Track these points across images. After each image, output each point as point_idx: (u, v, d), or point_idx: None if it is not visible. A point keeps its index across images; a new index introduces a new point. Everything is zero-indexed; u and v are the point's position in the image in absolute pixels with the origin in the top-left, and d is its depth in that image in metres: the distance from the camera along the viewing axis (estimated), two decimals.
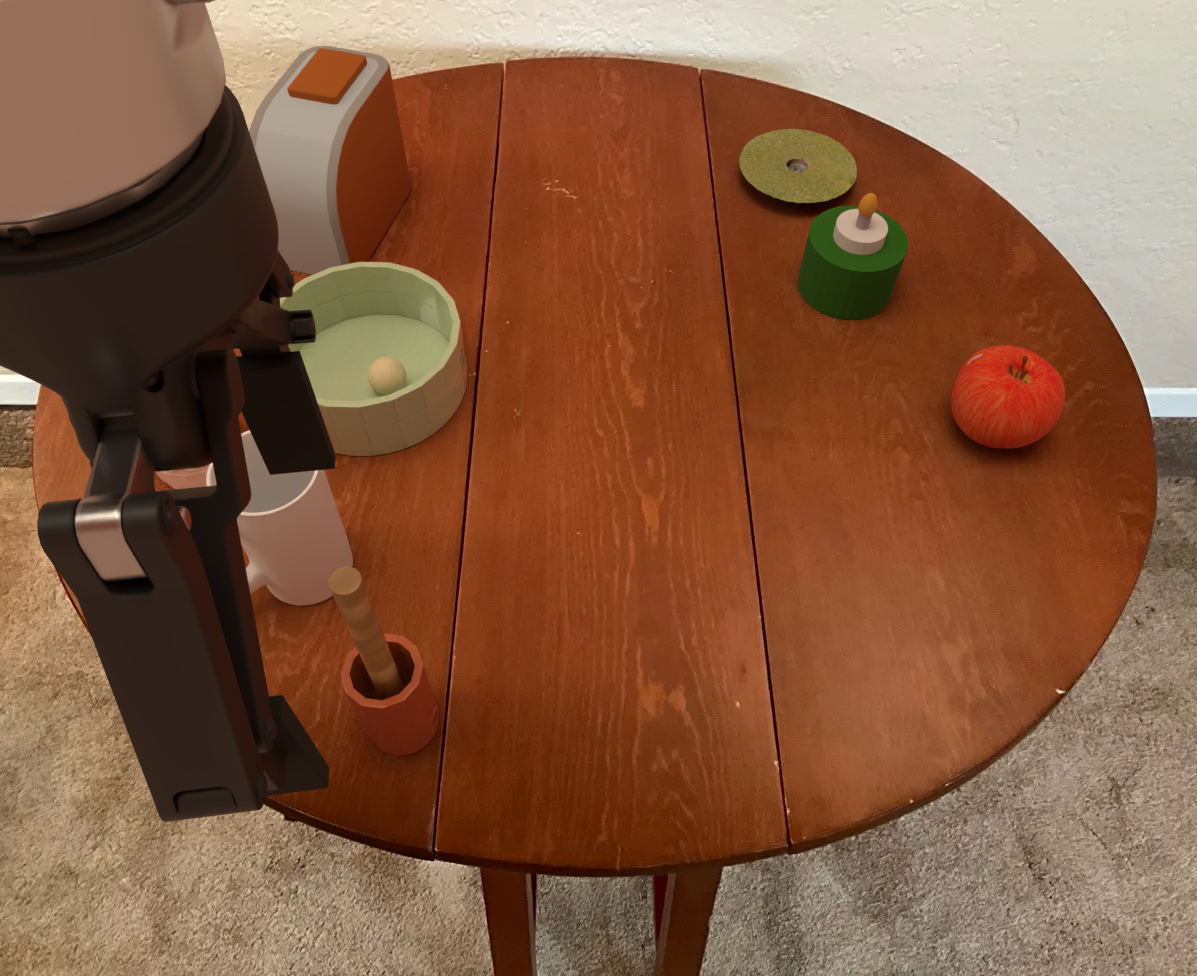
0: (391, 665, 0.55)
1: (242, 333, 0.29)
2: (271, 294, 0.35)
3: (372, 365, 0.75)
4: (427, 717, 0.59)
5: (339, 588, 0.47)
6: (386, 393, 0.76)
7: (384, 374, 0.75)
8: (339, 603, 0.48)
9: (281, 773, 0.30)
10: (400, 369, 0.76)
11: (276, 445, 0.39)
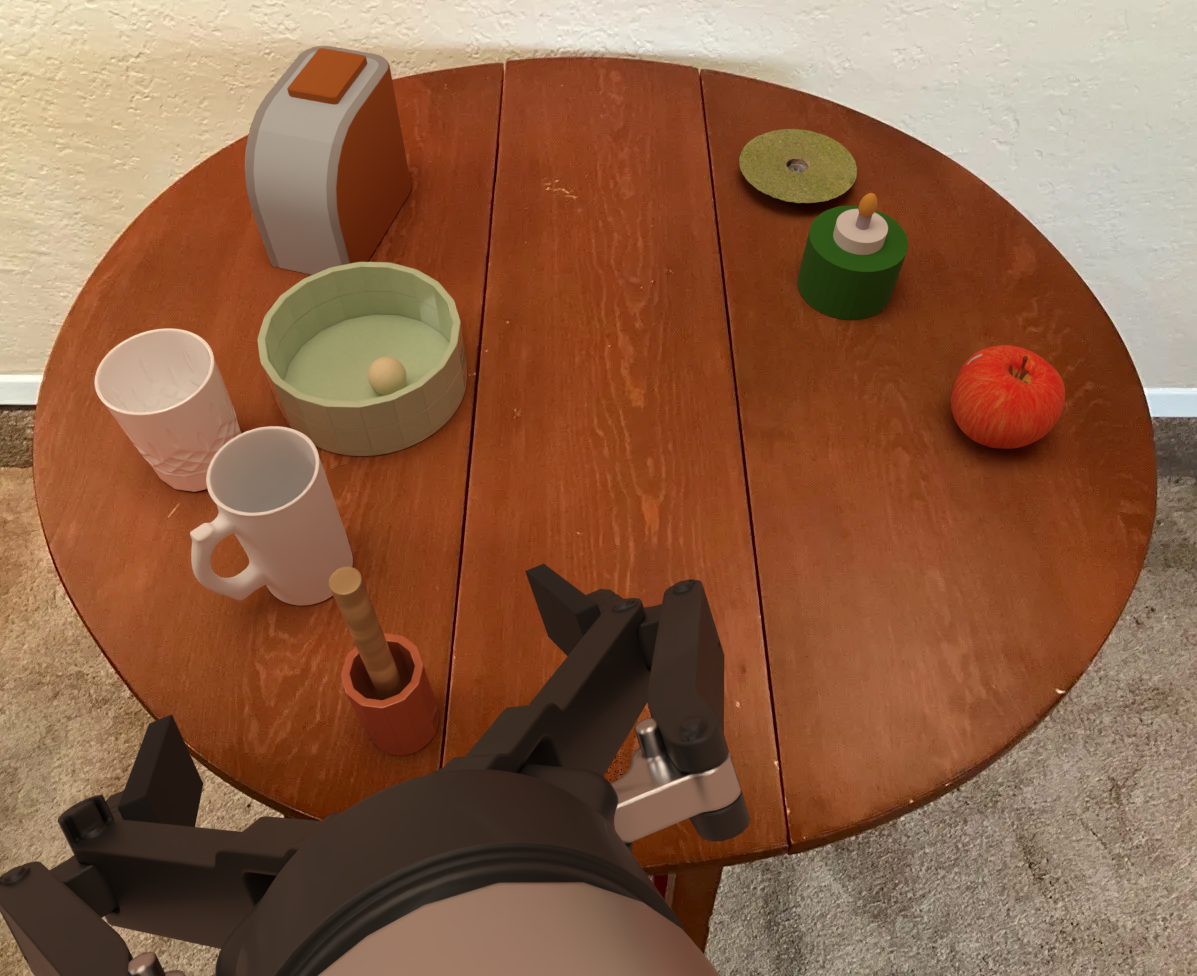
0: (391, 665, 0.55)
1: None
2: None
3: (372, 365, 0.75)
4: (427, 717, 0.59)
5: (339, 588, 0.47)
6: (386, 393, 0.76)
7: (384, 374, 0.75)
8: (339, 603, 0.48)
9: None
10: (400, 369, 0.76)
11: (544, 600, 0.34)
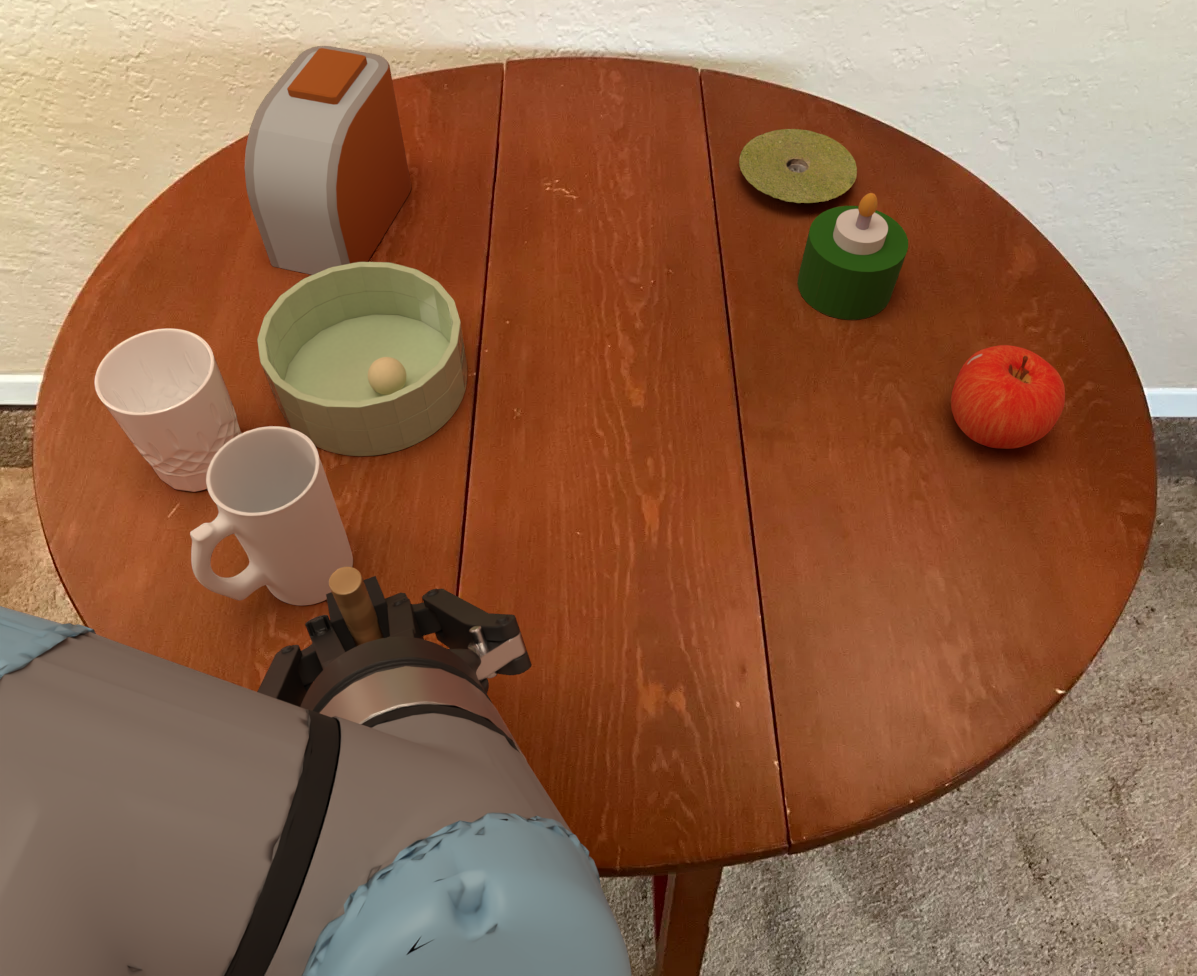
0: None
1: None
2: (427, 634, 0.50)
3: (372, 365, 0.75)
4: None
5: (339, 588, 0.47)
6: (386, 393, 0.76)
7: (384, 374, 0.75)
8: (339, 603, 0.48)
9: None
10: (400, 369, 0.76)
11: None
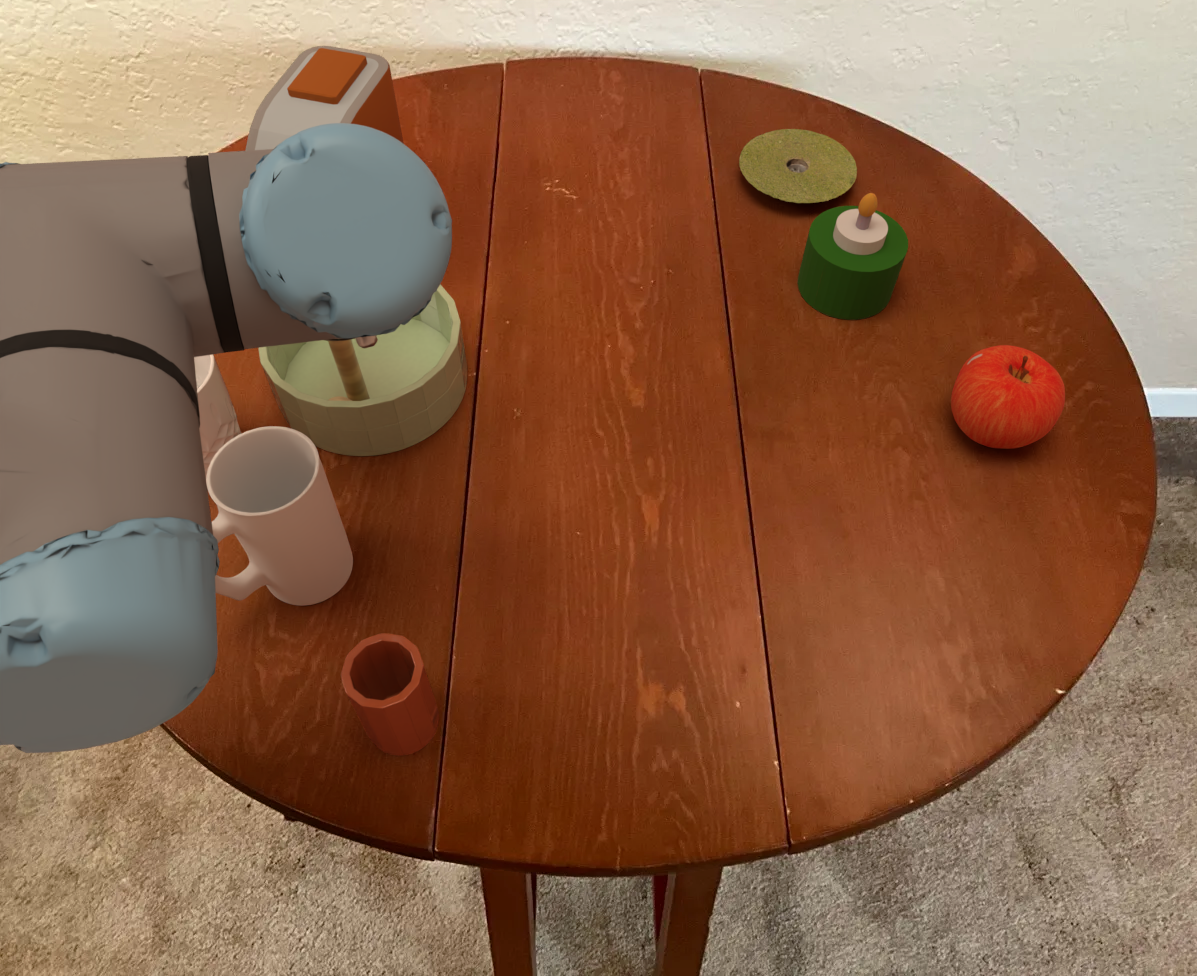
0: None
1: None
2: None
3: None
4: (427, 717, 0.59)
5: None
6: None
7: None
8: None
9: None
10: None
11: None
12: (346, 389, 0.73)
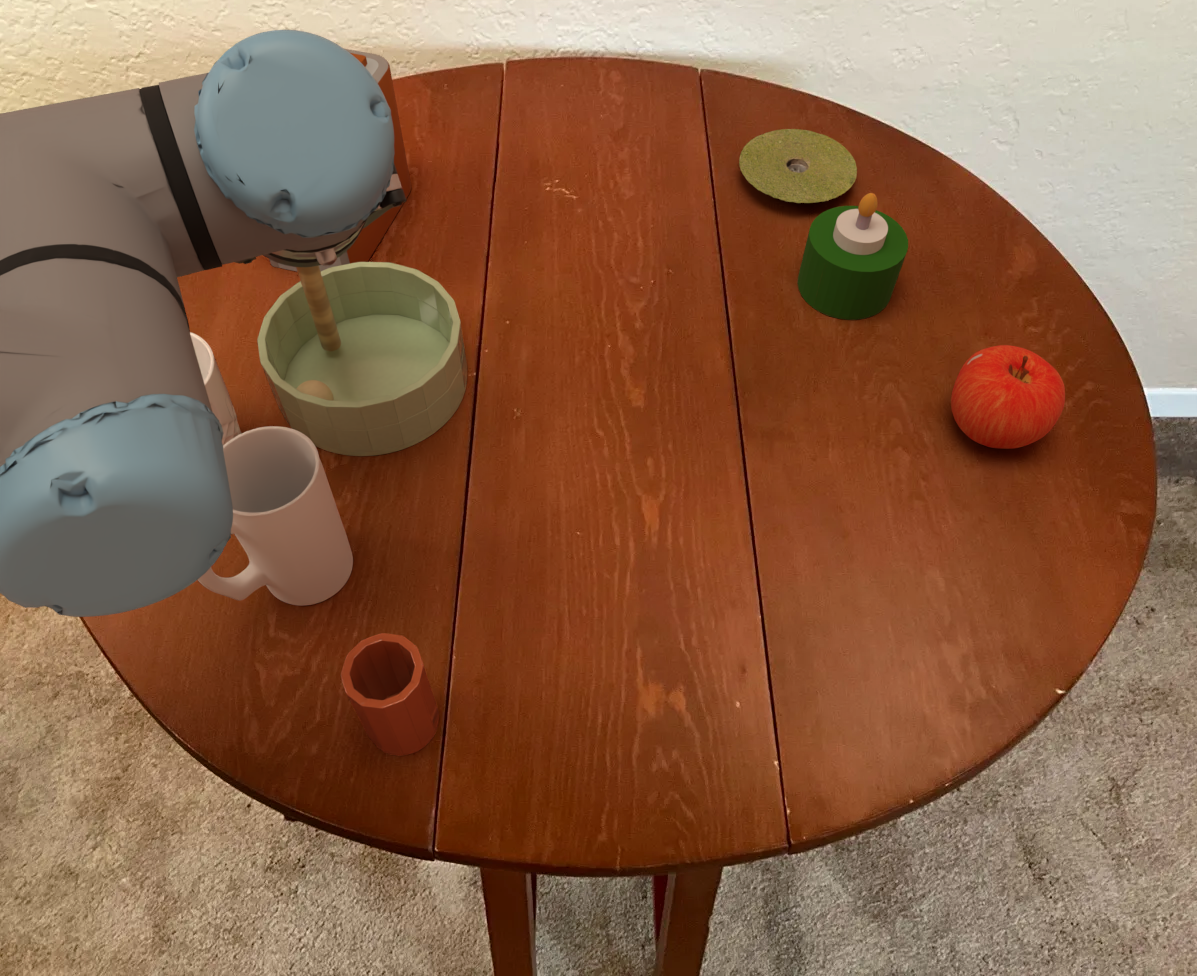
0: (317, 274, 0.71)
1: None
2: None
3: None
4: (427, 717, 0.59)
5: None
6: None
7: None
8: None
9: None
10: None
11: None
12: (316, 328, 0.76)
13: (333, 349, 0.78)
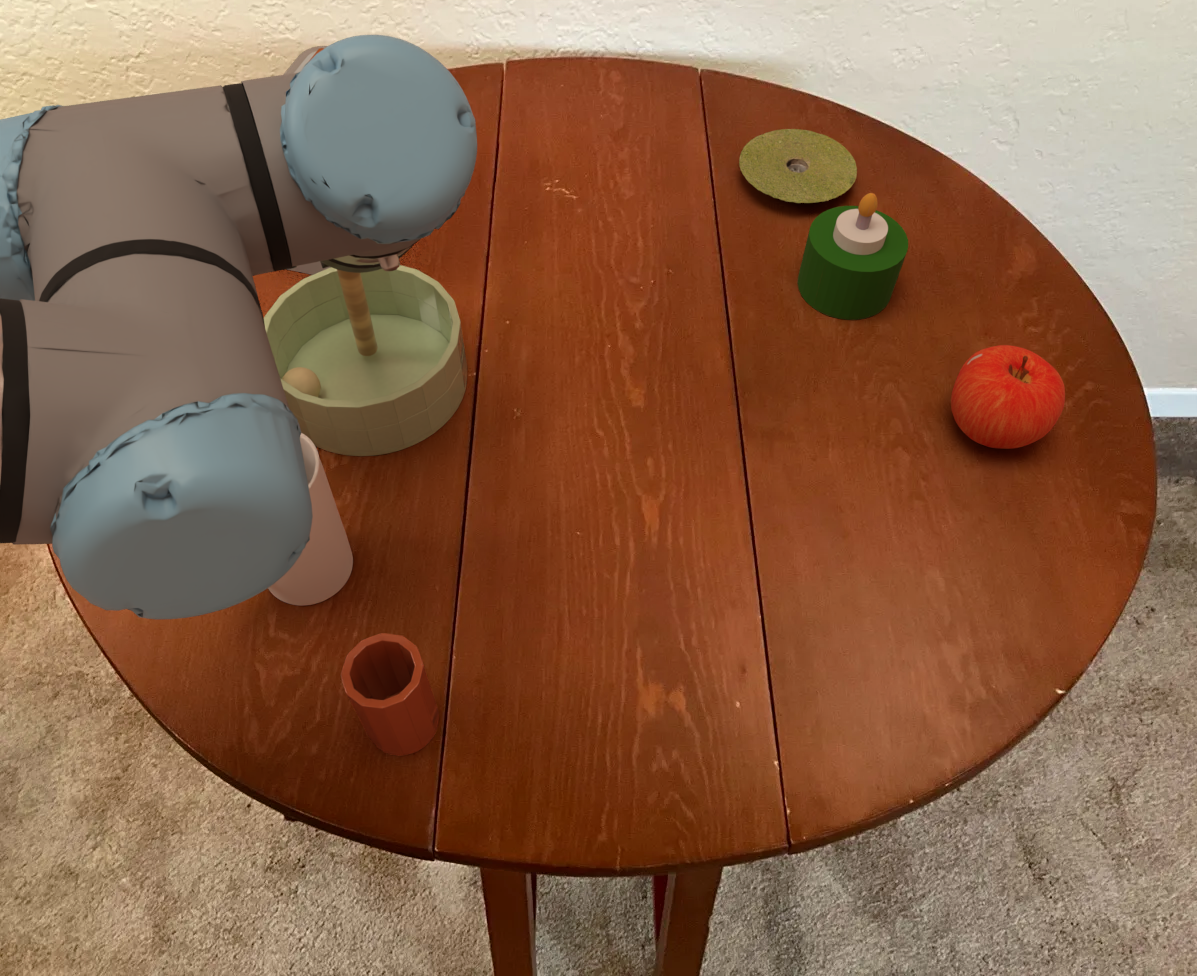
0: (357, 279, 0.71)
1: None
2: None
3: None
4: (427, 717, 0.59)
5: None
6: None
7: (319, 389, 0.76)
8: None
9: None
10: (309, 374, 0.75)
11: None
12: (354, 333, 0.76)
13: (370, 354, 0.78)
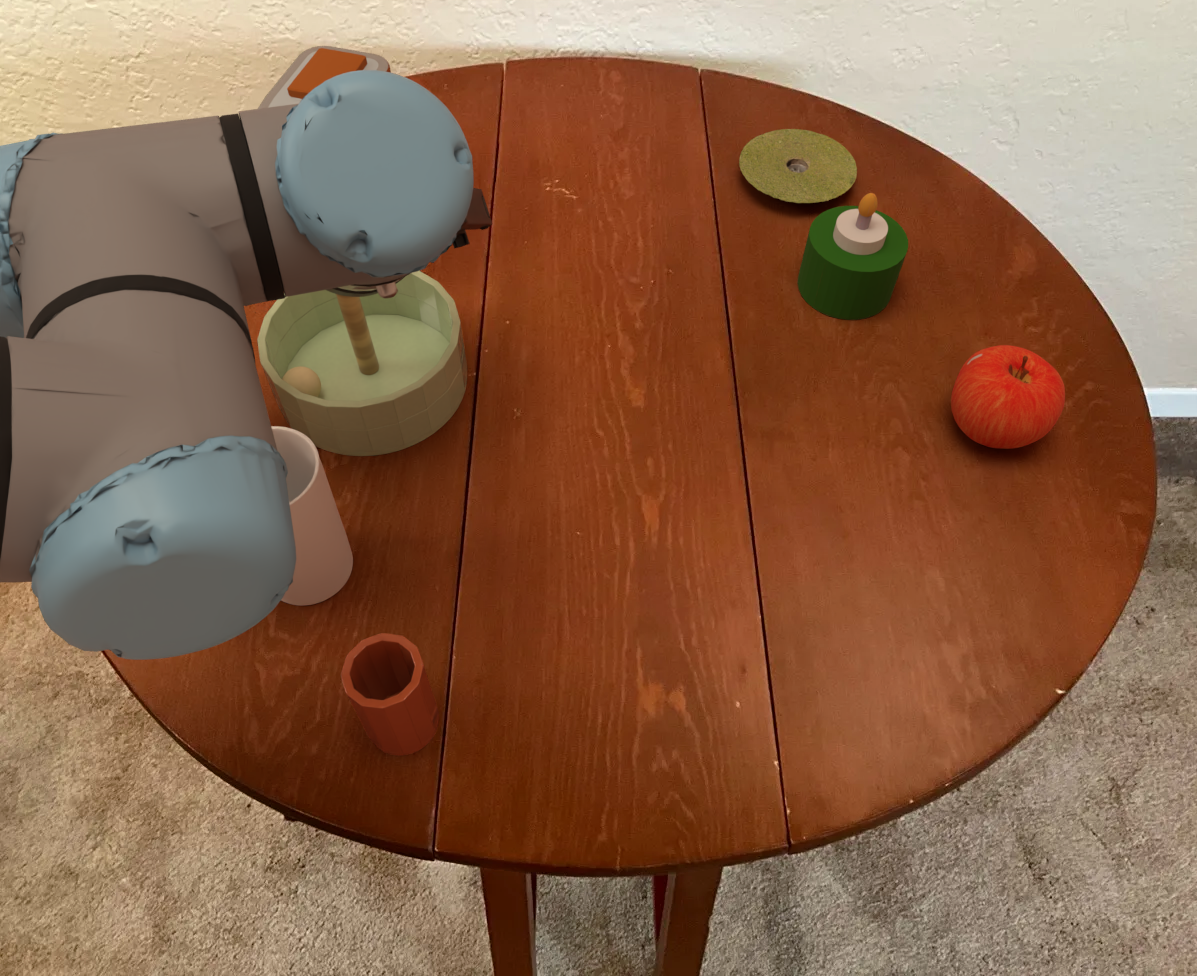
0: (355, 297, 0.71)
1: None
2: None
3: None
4: (427, 717, 0.59)
5: None
6: None
7: (319, 389, 0.76)
8: None
9: None
10: (310, 373, 0.75)
11: None
12: (355, 352, 0.76)
13: (372, 373, 0.78)
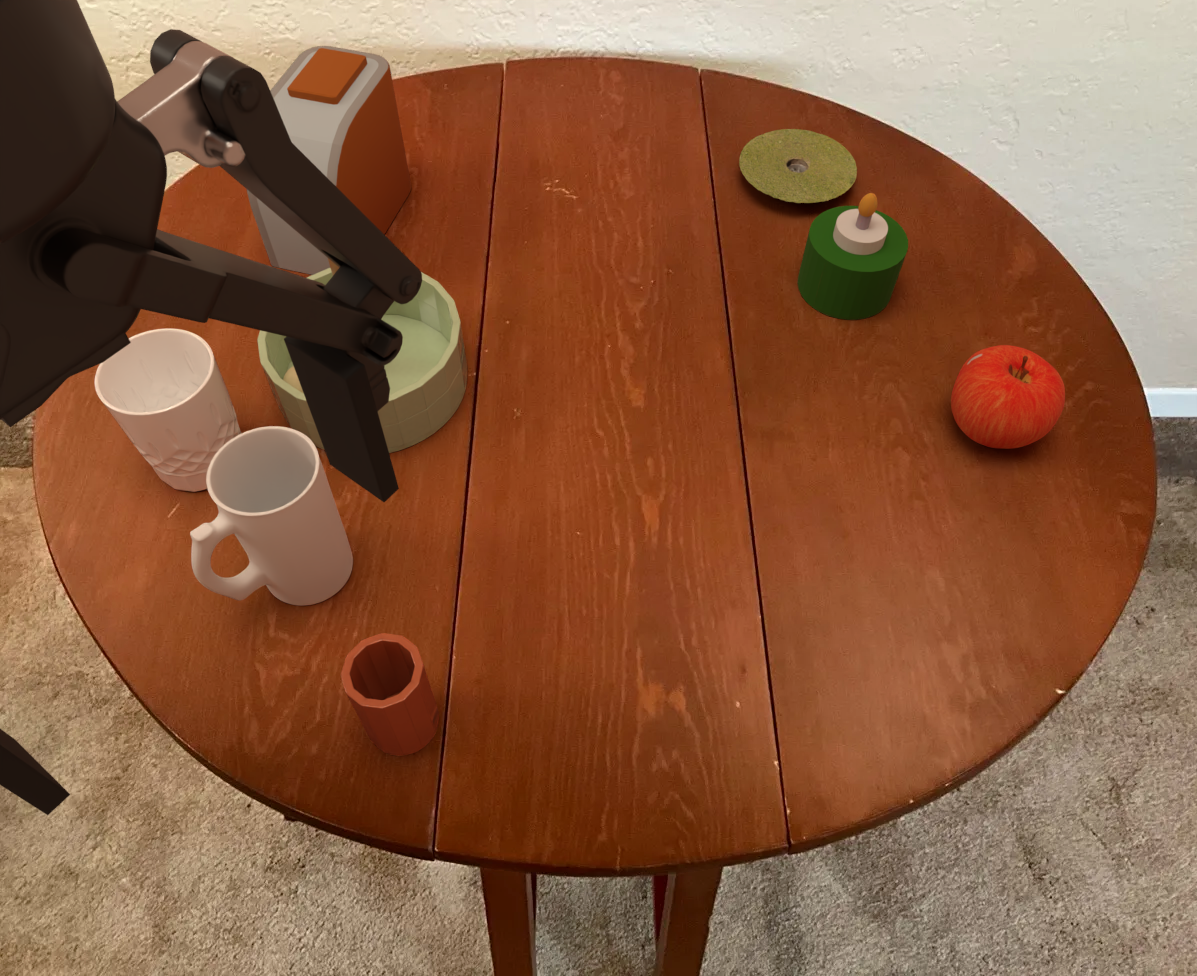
0: None
1: None
2: (371, 289, 0.28)
3: None
4: (427, 717, 0.59)
5: None
6: None
7: None
8: None
9: None
10: None
11: (332, 441, 0.33)
12: None
13: None
